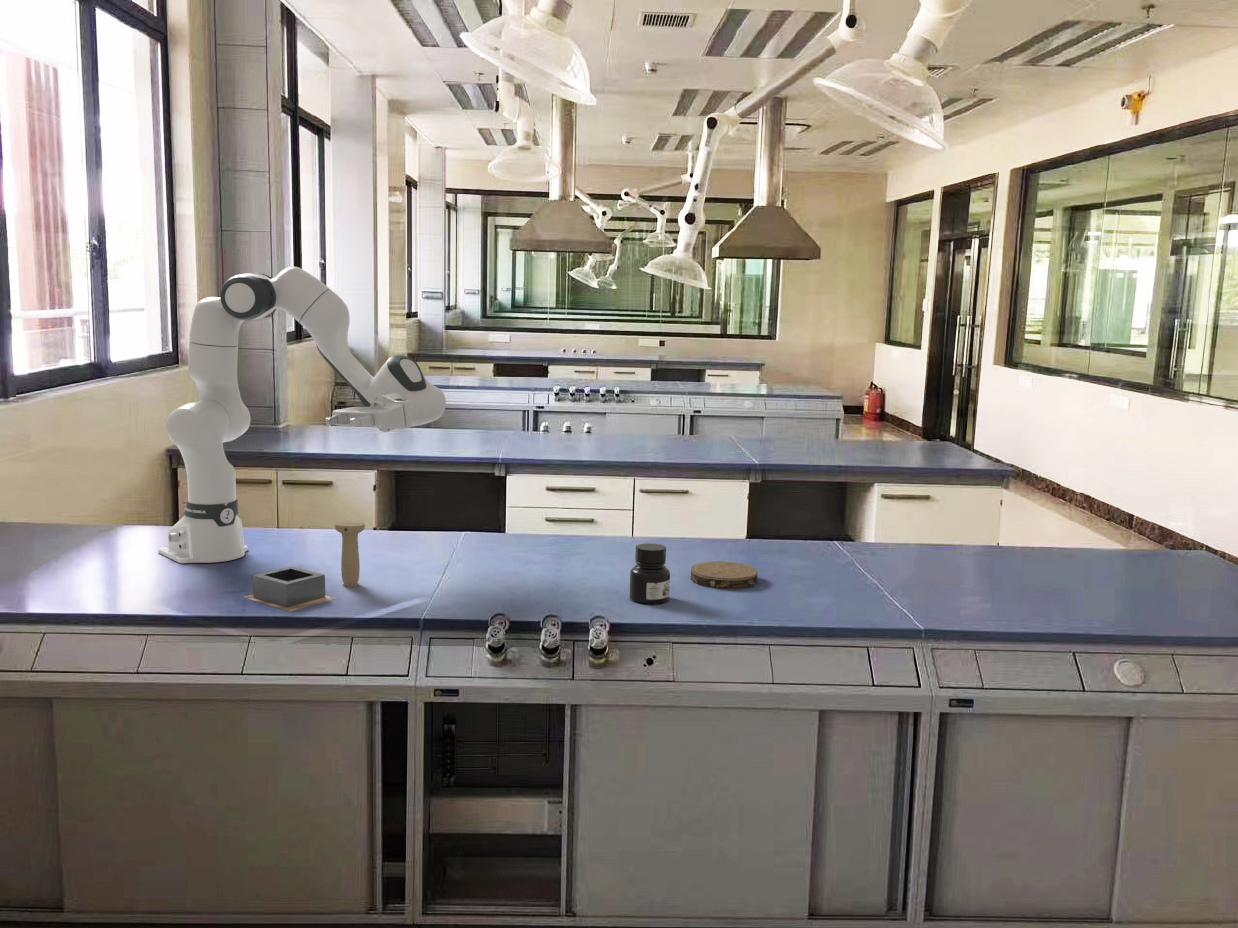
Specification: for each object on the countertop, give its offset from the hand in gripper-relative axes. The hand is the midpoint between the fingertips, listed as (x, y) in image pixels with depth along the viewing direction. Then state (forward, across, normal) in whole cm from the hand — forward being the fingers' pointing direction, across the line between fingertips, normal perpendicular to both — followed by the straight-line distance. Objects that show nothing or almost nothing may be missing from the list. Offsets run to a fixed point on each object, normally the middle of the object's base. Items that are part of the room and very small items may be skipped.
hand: (339, 422), depth 238 cm
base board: (+22, +6, +35) cm, 42 cm away
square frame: (+22, +6, +34) cm, 41 cm away
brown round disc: (-59, +62, +47) cm, 98 cm away
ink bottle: (-34, +59, +44) cm, 81 cm away
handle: (+8, +6, +37) cm, 38 cm away
